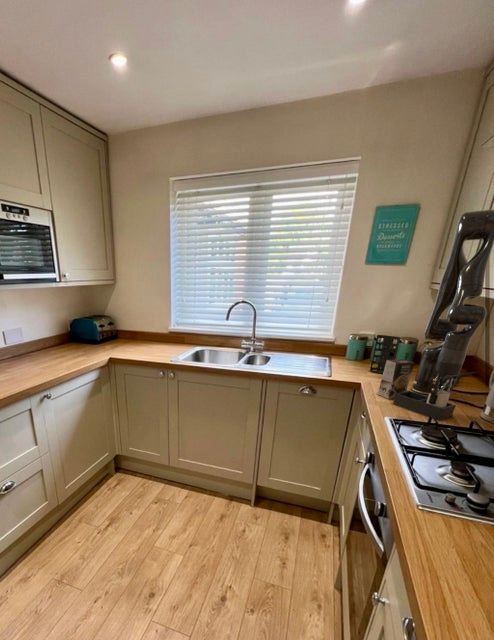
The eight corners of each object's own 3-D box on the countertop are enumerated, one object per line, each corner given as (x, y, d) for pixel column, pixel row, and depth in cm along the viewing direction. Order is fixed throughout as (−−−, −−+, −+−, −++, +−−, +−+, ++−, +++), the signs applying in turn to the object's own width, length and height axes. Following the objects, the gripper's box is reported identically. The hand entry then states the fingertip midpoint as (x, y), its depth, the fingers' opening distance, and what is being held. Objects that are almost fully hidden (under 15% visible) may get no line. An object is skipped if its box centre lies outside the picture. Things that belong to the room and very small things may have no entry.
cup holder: (405, 400, 142) (408, 390, 140) (452, 416, 128) (455, 405, 126) (392, 404, 138) (395, 393, 136) (439, 420, 124) (443, 409, 122)
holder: (370, 372, 179) (379, 335, 174) (367, 370, 186) (375, 334, 181) (393, 375, 176) (402, 337, 171) (389, 372, 183) (398, 336, 178)
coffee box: (388, 399, 143) (398, 363, 137) (376, 394, 148) (385, 359, 142) (405, 397, 145) (415, 362, 139) (393, 392, 151) (402, 358, 145)
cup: (429, 406, 133) (435, 388, 130) (446, 412, 128) (453, 393, 125) (420, 409, 130) (426, 390, 127) (438, 415, 125) (444, 395, 122)
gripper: (451, 365, 115) (437, 409, 121) (472, 360, 121) (457, 402, 128) (428, 359, 121) (415, 401, 127) (449, 356, 127) (436, 396, 134)
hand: (436, 402), depth 128 cm, fingers closed on cup, 6 cm apart
